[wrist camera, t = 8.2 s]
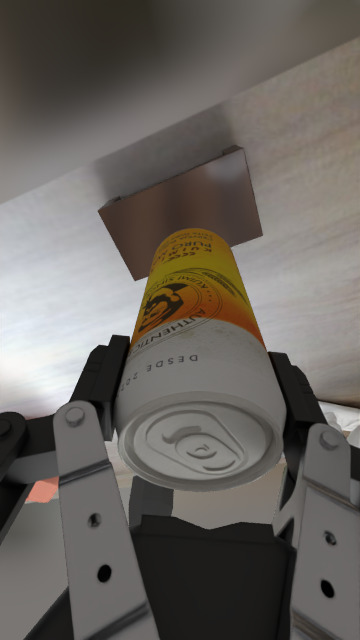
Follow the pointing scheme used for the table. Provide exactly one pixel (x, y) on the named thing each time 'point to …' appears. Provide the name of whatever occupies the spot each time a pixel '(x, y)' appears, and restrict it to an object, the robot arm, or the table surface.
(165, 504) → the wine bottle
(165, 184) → the shelf
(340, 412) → the figurine
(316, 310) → the table surface
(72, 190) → the table surface
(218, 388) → the beer can
